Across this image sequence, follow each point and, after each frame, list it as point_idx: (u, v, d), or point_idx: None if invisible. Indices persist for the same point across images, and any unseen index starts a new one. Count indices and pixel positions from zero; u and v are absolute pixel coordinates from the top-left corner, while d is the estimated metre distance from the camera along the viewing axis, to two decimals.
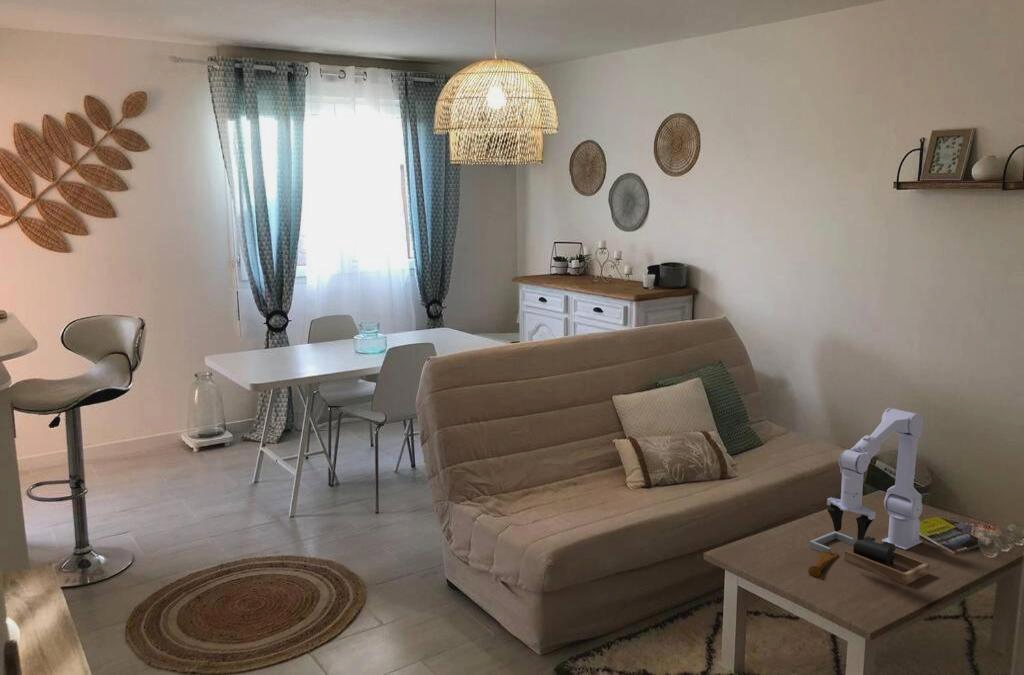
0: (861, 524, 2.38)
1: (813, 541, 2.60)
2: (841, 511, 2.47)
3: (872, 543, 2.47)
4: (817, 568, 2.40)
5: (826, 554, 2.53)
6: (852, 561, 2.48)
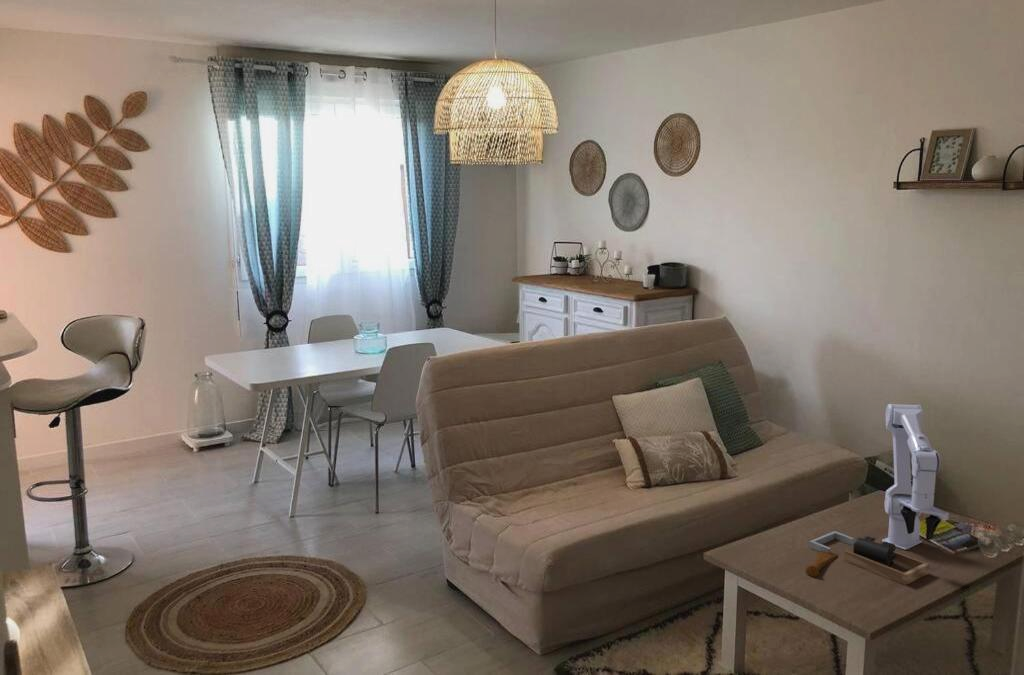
0: (930, 524, 2.37)
1: (813, 541, 2.60)
2: (914, 513, 2.44)
3: (872, 543, 2.47)
4: (815, 568, 2.41)
5: (825, 554, 2.53)
6: (852, 561, 2.48)
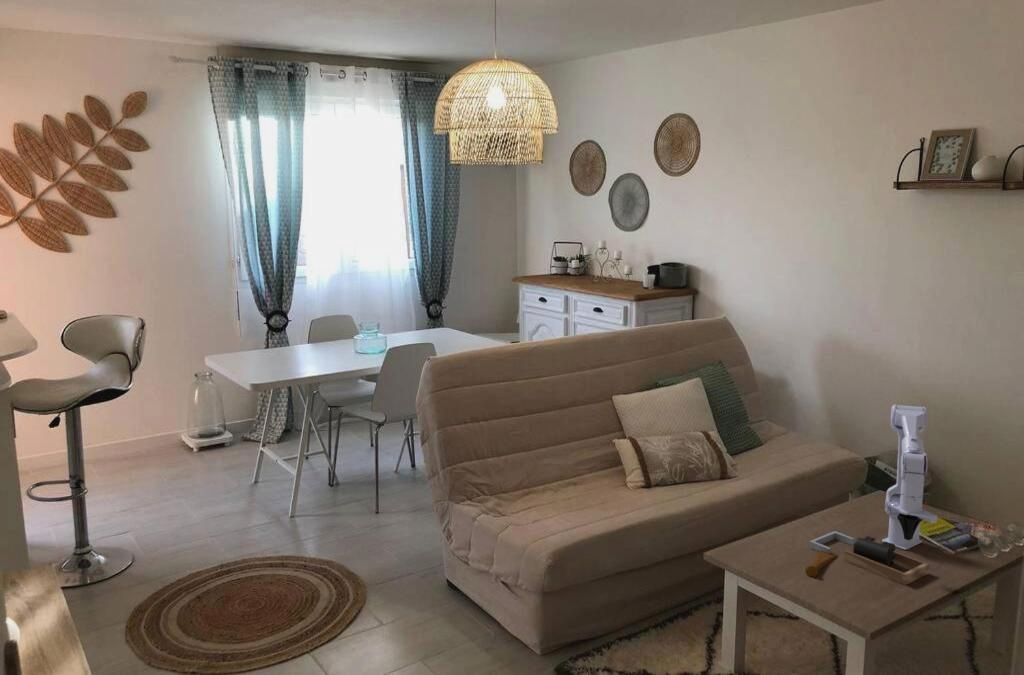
0: (910, 524, 2.37)
1: (813, 541, 2.60)
2: None
3: (872, 543, 2.47)
4: (814, 568, 2.40)
5: (824, 554, 2.53)
6: (852, 561, 2.48)
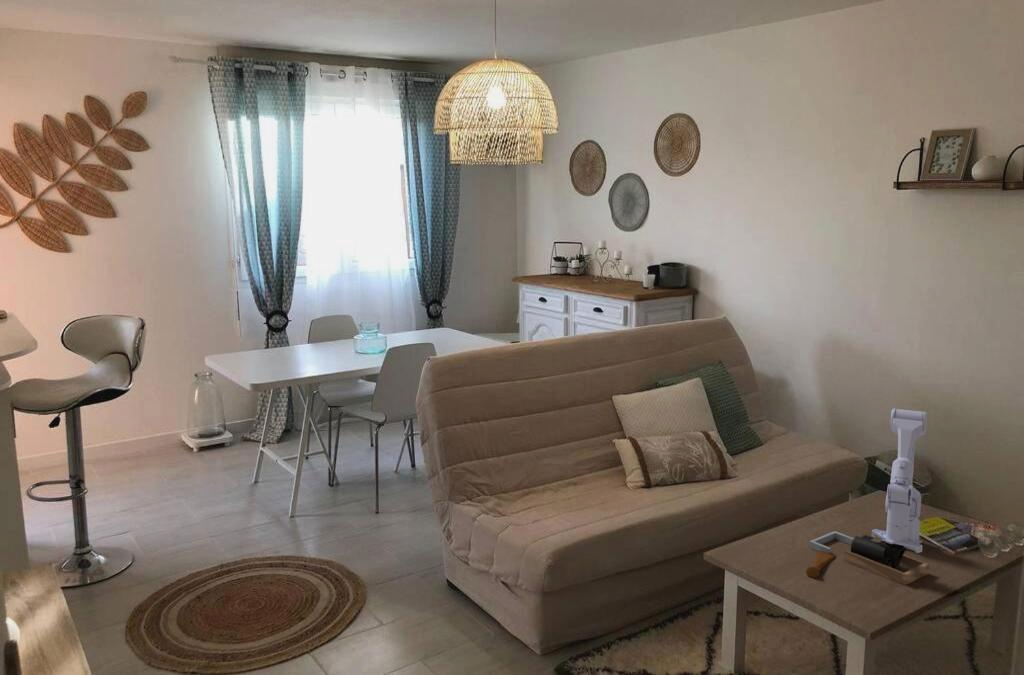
0: (896, 553, 2.40)
1: (813, 541, 2.60)
2: None
3: (869, 542, 2.48)
4: (815, 569, 2.40)
5: (823, 555, 2.53)
6: (852, 561, 2.48)
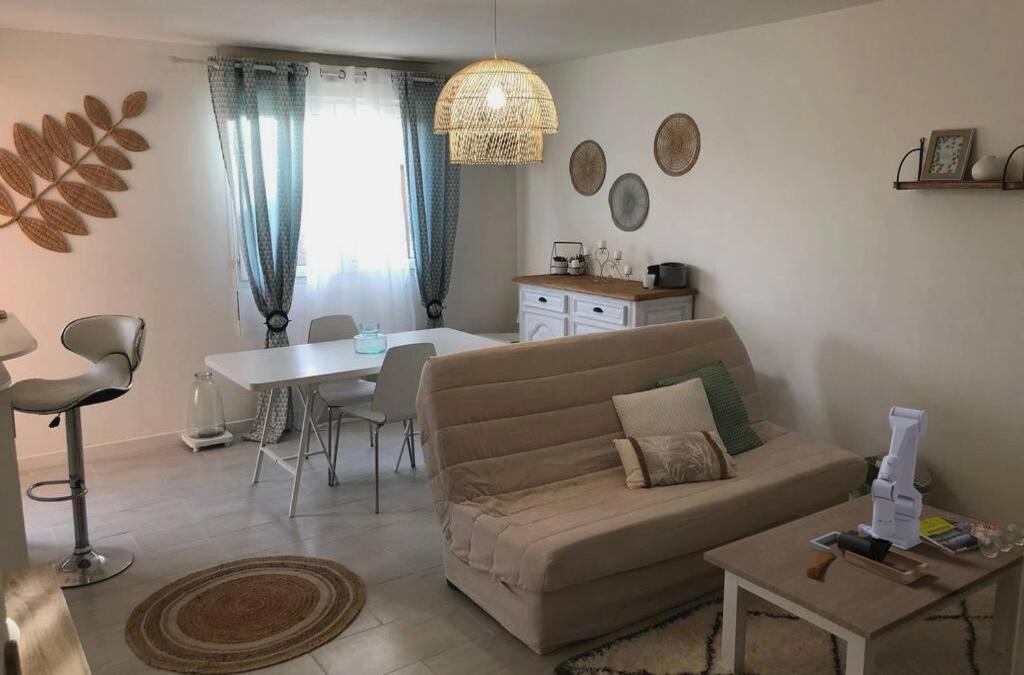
0: (882, 547, 2.44)
1: (813, 541, 2.60)
2: None
3: (855, 536, 2.52)
4: (816, 569, 2.40)
5: (823, 555, 2.53)
6: (852, 561, 2.48)
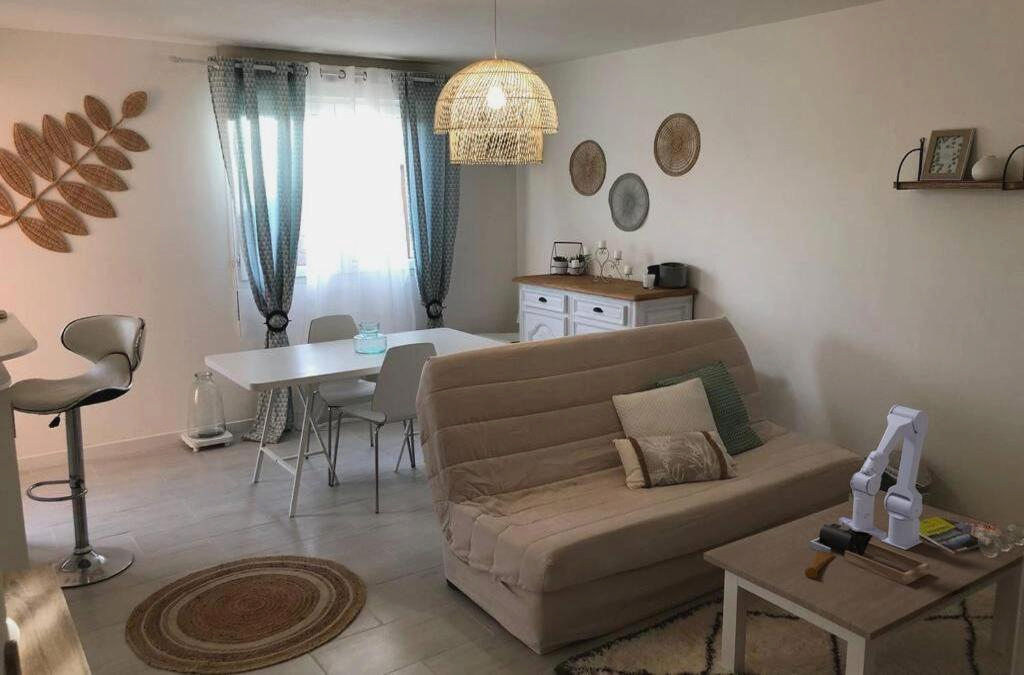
0: (861, 540, 2.49)
1: (813, 541, 2.60)
2: None
3: (837, 529, 2.57)
4: (814, 570, 2.40)
5: (821, 555, 2.53)
6: (852, 561, 2.48)
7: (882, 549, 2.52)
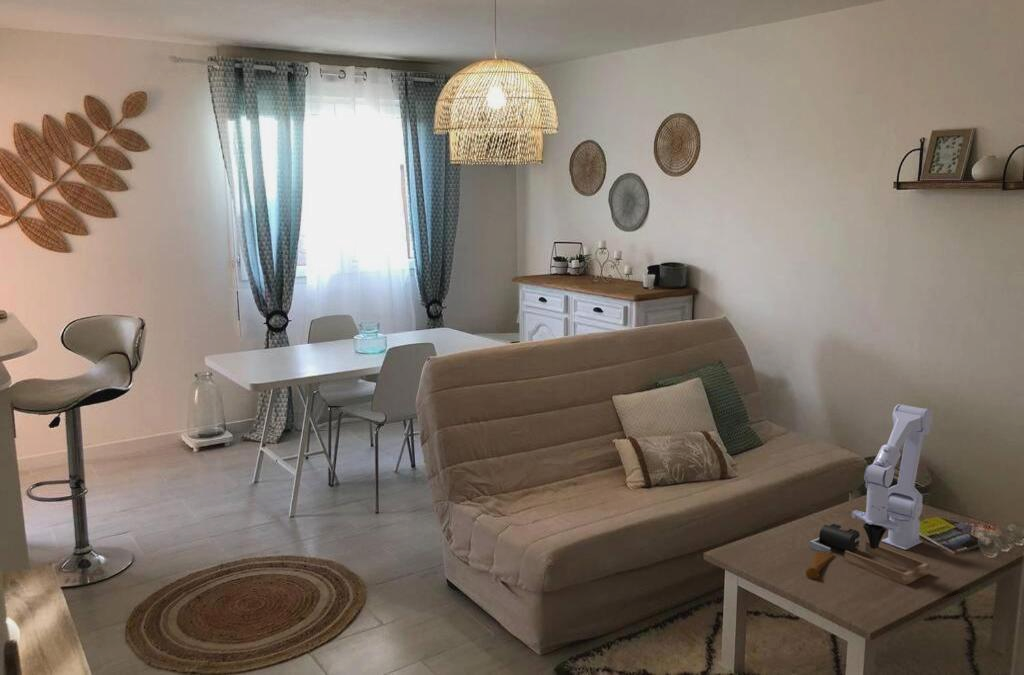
0: (875, 533, 2.45)
1: (813, 541, 2.60)
2: None
3: (837, 530, 2.57)
4: (815, 570, 2.39)
5: (821, 555, 2.52)
6: (852, 561, 2.48)
7: (882, 549, 2.52)
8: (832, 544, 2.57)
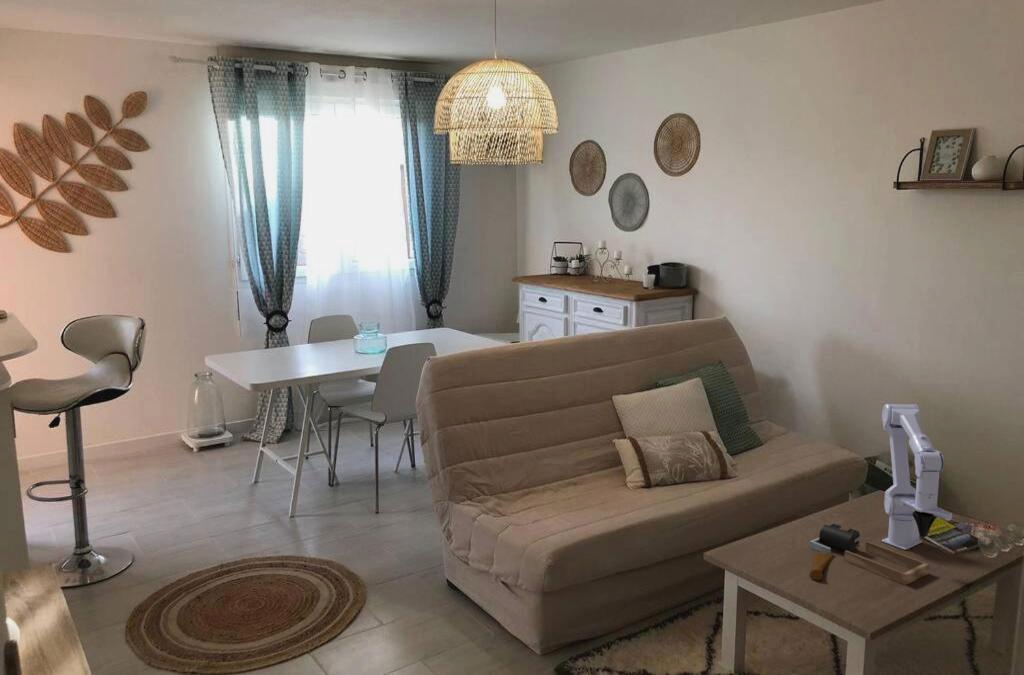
0: (925, 521, 2.40)
1: (813, 541, 2.60)
2: None
3: (837, 530, 2.57)
4: (819, 572, 2.38)
5: (820, 556, 2.52)
6: (852, 561, 2.48)
7: (882, 549, 2.52)
8: (832, 544, 2.57)
